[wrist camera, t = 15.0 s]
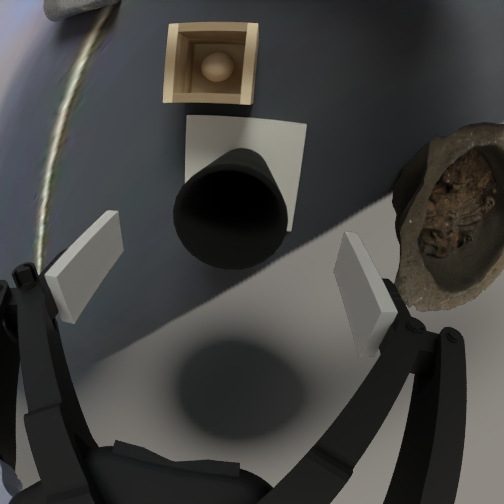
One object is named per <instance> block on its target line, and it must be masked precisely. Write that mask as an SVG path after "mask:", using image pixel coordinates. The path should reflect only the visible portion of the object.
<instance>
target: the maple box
mask: <svg viewBox="0 0 504 504" xmlns="http://www.w3.org/2000/svg"><path fill="white" fill-rule="evenodd" d="M258 47H259V28H258V23H243V22H192V23H176V24H169V30H168V39H167V49H166V61H165V74H164V90H163V103H178V102H196V103H228V104H244V105H251V104H253V98H254V88H255V77H256V67H257V57H258ZM216 52H221V53H225V54H227V55H228V56H229V57H230V58H231V59H232V61H233V64H234V70H233V72H232V74H231V75H230V77H229V78H227V79H226V80H223V81H220V82H214V81H210V80H208V79H207V78H206V77H205V76H204V75H203V73H202V70H201V65H202V62H203V60H204V59H205V58H206V57H207V56H208V55H210V54H212V53H216Z"/></svg>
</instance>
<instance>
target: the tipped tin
mask: <svg viewBox="0 0 504 504" xmlns="http://www.w3.org/2000/svg"><path fill="white" fill-rule="evenodd" d="M119 1H120V0H44V12H45V15H46V16H47V18H48V19H49V20H51V21H54V22H56V21H60V20H62V19H65V18H68V17H71V16H74V15H77V14H80V13H83V12H87V11H90V10H94V9H97V8H101V7H105V6H109V5H113V4H116V3H118V2H119Z"/></svg>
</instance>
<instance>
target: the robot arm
mask: <svg viewBox="0 0 504 504" xmlns="http://www.w3.org/2000/svg"><path fill="white" fill-rule="evenodd" d="M123 251H124V249H123V243H122V236H121V229H120V222H119V214H118V211H109V210H107V211H106V212H105V213H104V214H103V215H102V216H101V217H100V218H99V219H98V220H97V221H96V222H94V223H93V224H92V225H91V226H90V227H89V228H88V229H87V230H86V231H85V232H84V233H83V234H82V235H81V236H80V237H79V238H78V239H77V240H76V241H75V242H74V243H73V244H72V245H71V246H70V247H69V248H67V249H65V250H63V251H62V252H60V253H59V254H58V255H57V256H56V257H55V258H54V260H52V261H51V262H50V264H49V265H48V266H47V267H46V268H45V269H44V270H43V271H42V272H41V274H40V275H39V276H38V273H37V270H36V267H35V265H34V264H33V263H30V262H27V263H23V264H21V265H19V266H18V267H16V268H15V269H14V270H13V272H12V276H13V279H14V282H15V284H16V286H17V288H9V285H8V283H7V281H5V280H0V504H330V503H331V502H332V500H333V499H334V498H335V497H336V496H337V494H338V493H339V492H340V491H341V489H342V488H343V487H344V485H345V484H346V483H347V481H348V480H349V478H350V477H351V475H352V473H353V468H354V467H355V465H356V464H357V462H358V461H359V459H360V458H361V456H362V455H363V453H364V452H365V451H366V449H367V447H368V446H369V444H370V443H371V441H372V440H373V438H374V436H375V435H376V433H377V432H378V430H379V428H380V427H381V425H382V423H383V422H384V420H385V418H386V417H387V415H388V413H389V411H390V410H391V408H392V406H393V404H394V402H395V400H396V398H397V397H398V395H399V393H400V391H401V389H402V387H403V385H404V383H405V381H406V379H407V376H408V375H409V373H413V374H415V376H414V383H413V390H412V396H411V402H410V407H409V413H408V418H407V422H406V427H405V431H404V436H403V440H402V444H401V448H400V452H399V456H398V459H397V463H396V466H395V470H394V473H393V476H392V479H391V482H390V485H389V488H388V491H387V494H386V497H385V500H384V502H383V504H454V502H455V498H456V493H457V488H458V482H459V477H460V471H461V465H462V457H463V449H464V439H465V426H466V402H467V400H466V399H467V393H466V392H467V388H466V387H467V386H466V384H467V382H466V358H465V344H464V339H463V336H462V335H461V333H460V332H459V331H457V330H456V329H454V328H451V327H445V328H443V329H442V330H441V332H440V334H437V333H433V332H429V331H426V328H425V325H424V324H423V323H422V322H421V321H420V320H418V319H416V318H413V317H411V315H410V313H409V311H408V309H407V307H406V305H405V303H404V301H403V299H402V297H401V295H400V294H399V292H398V290H397V288H396V286H395V285H394V284H393V283H392V282H391V281H390V280H389V279H383V278H381V277H380V275H379V273H378V271H377V269H376V267H375V265H374V263H373V261H372V259H371V257H370V256H369V254H368V252H367V250H366V248H365V247H364V245H363V243H362V241H361V239H360V237H359V236H358V234H357V233H356V232H348V231H345V232H344V235H343V239H342V243H341V247H340V250H339V254H338V258H337V262H336V265H335V268H334V274H335V277H336V280H337V283H338V286H339V289H340V292H341V296H342V299H343V302H344V306H345V309H346V313H347V316H348V320H349V323H350V327H351V330H352V334H353V337H354V341H355V344H356V348H357V352H358V356H359V357H374V355H375V354H376V352H377V350H378V349H379V350H380V353H381V355H380V357H379V359H378V360H377V362H376V363H375V365H374V366H373V368H372V369H371V371H370V372H369V374H368V375H367V377H366V378H365V380H364V381H363V383H362V384H361V386H360V387H359V388H358V390H357V391H356V393H355V394H354V396H353V397H352V399H351V400H350V401H349V402H348V404H347V405H346V407H345V408H344V409H343V411H342V412H341V413H340V414H339V416H338V417H337V418H336V420H335V421H334V422H333V423H332V425H331V426H330V427H329V429H328V430H327V431H326V432H325V433H324V435H323V436H322V437H321V438H320V439H319V440H318V442H317V443H316V444H315V445H314V446H313V447H312V448H311V449H310V450H309V452H308V453H307V454H306V455H305V456H304V457H303V458H302V459H301V460H300V461H299V462H298V464H297V465H296V466H295V467H294V468H293V469H292V470H291V471H290V472H289V473H288V474H287V475H286V476H285V477H284V478H283V479H282V480H281V481H280V482H279V483H278V484H277V485H276V486H275V487H274V488H273V487H272V486H271V485H270V484H269V483H267V482H266V481H265V480H263V479H262V478H261V477H259V476H257V475H255V474H253V473H251V472H248V471H246V470H243V469H240V463H235V462H224V461H215V460H198V461H197V460H196V461H180V462H175V461H171V460H168V459H166V458H164V457H162V456H160V455H158V454H156V453H154V452H151V451H150V450H148V449H145V448H143V447H139V446H136V445H132V444H128V443H125V442H121V441H118V440H115V443H114V446H104V447H98V445H97V443H96V442H95V441H94V439H93V437H92V435H91V433H90V431H89V428H88V426H87V423H86V421H85V418H84V415H83V413H82V410H81V407H80V404H79V401H78V398H77V395H76V392H75V389H74V386H73V383H72V380H71V377H70V373H69V370H68V366H67V362H66V358H65V355H64V351H63V346H62V342H61V338H60V333H59V328H58V324H57V321H56V318H55V316H56V315H57V313H58V312H59V314H60V316H61V319H62V321H65V322H69V323H73V324H75V322H76V320H77V319H78V317H79V316H80V314H81V312H82V311H83V309H84V308H85V306H86V305H87V303H88V302H89V300H90V298H91V297H92V295H93V294H94V292H95V291H96V289H97V288H98V286H99V285H100V284H101V282H102V281H103V279H104V278H105V276H106V275H107V273H108V272H109V271H110V269H111V268H112V266H113V265H114V264H115V262H116V261H117V259H118V258H119V257H120V255H121V254H122V253H123ZM20 360H21V369H22V376H23V383H24V389H25V395H26V400H27V405H28V414H25V415H24V423H25V428H26V432H27V436H28V440H29V444H30V448H31V451H32V454H33V458H34V461H35V464H36V467H37V470H38V473H39V476H40V479H41V480H40V481H39V482H37V483H35V484H33V485H31V486H30V487H28V488H26V489H24V490H22V487H23V486H22V483H21V481H20V480H19V479H18V478H17V475H16V473H15V465H16V429H15V428H16V397H17V384H18V374H19V366H20ZM21 490H22V491H21Z"/></svg>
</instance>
